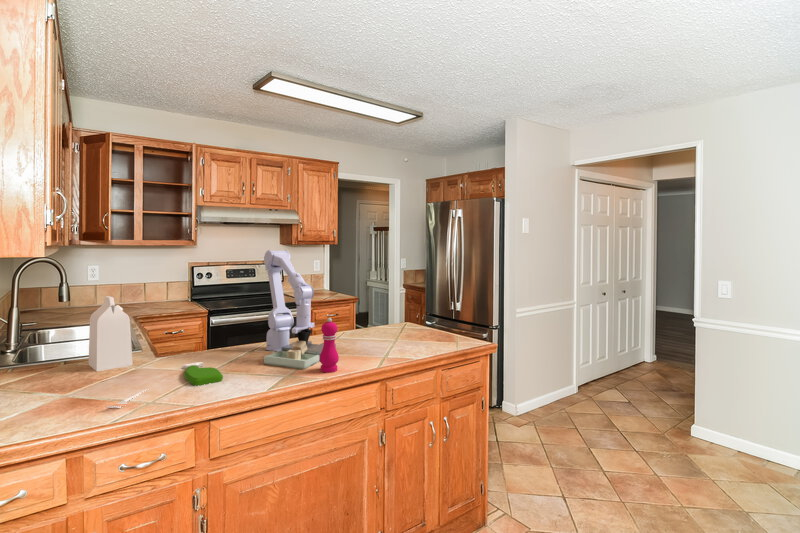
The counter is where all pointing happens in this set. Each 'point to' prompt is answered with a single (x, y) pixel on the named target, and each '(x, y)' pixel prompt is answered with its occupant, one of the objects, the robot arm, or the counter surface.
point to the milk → (109, 337)
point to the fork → (126, 400)
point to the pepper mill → (329, 347)
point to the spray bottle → (201, 374)
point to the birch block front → (294, 354)
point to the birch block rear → (300, 346)
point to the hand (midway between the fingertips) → (303, 347)
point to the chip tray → (291, 360)
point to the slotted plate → (311, 348)
